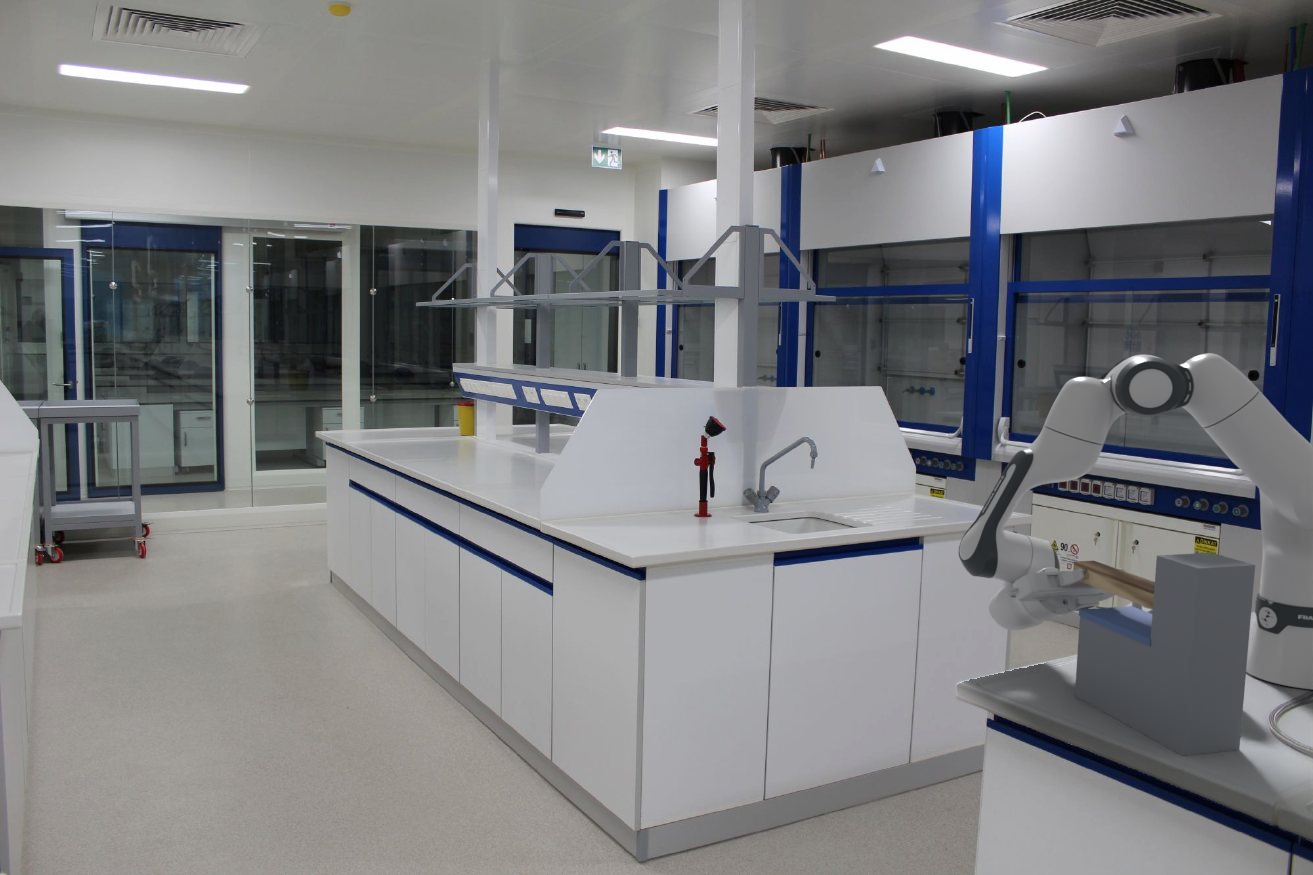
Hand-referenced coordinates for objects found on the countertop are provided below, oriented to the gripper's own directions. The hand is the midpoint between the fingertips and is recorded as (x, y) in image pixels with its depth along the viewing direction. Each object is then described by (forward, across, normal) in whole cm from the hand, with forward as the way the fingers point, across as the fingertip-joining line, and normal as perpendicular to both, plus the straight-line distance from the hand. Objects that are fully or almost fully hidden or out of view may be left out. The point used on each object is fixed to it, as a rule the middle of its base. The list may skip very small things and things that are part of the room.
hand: (1098, 572), depth 168 cm
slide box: (+4, 0, +5) cm, 7 cm away
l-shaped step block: (+2, 0, +25) cm, 25 cm away
